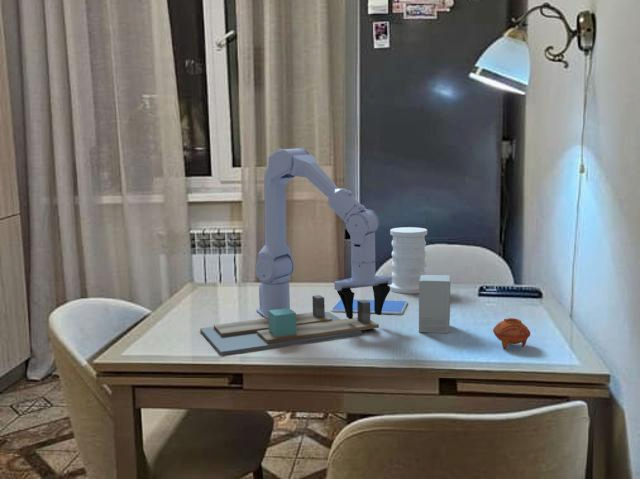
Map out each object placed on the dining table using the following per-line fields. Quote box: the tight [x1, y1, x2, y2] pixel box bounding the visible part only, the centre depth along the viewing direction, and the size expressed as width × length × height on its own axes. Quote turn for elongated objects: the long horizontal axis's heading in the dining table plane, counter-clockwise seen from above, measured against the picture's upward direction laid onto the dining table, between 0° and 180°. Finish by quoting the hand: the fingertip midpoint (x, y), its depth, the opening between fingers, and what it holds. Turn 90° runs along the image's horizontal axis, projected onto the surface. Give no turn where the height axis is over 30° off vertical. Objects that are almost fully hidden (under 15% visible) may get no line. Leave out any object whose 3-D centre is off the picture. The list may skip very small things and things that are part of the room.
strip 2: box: [257, 299, 380, 343], centre depth 165 cm, size 8×28×6 cm, turn 112°
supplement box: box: [418, 274, 451, 334], centre depth 168 cm, size 7×7×13 cm
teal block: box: [268, 308, 297, 337], centre depth 162 cm, size 5×5×5 cm
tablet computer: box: [330, 299, 409, 316], centre depth 190 cm, size 19×13×1 cm, turn 76°
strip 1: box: [213, 294, 332, 337], centre depth 171 cm, size 8×28×6 cm, turn 112°
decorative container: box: [388, 226, 428, 295], centre depth 209 cm, size 12×12×18 cm
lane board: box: [199, 311, 363, 356], centre depth 168 cm, size 20×34×1 cm, turn 112°
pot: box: [492, 317, 531, 350], centre depth 154 cm, size 8×8×7 cm
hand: (363, 316), depth 170 cm, fingers open, 7 cm apart
